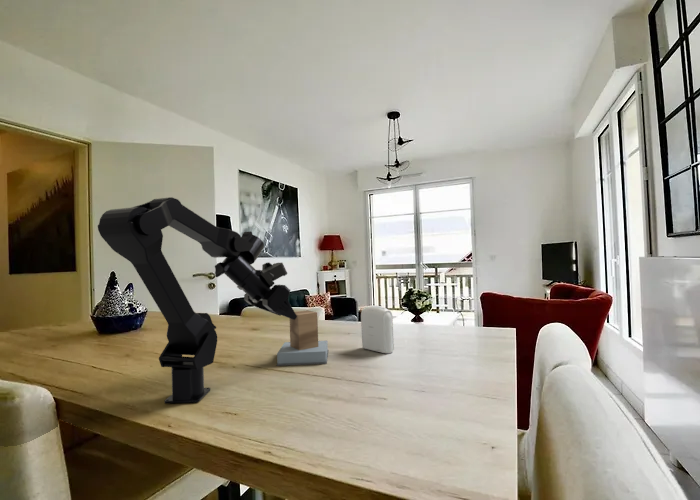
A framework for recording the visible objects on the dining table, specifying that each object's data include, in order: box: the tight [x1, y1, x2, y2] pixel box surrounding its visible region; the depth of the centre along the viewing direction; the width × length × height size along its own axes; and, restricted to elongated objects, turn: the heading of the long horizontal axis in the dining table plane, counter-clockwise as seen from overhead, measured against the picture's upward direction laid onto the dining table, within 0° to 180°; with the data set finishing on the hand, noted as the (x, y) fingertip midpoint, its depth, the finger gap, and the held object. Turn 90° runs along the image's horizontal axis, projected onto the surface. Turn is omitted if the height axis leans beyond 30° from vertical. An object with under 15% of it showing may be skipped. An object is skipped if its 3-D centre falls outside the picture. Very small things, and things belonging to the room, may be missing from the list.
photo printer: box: [360, 305, 395, 354], centre depth 102 cm, size 10×4×12 cm, turn 39°
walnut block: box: [289, 310, 319, 350], centre depth 97 cm, size 6×6×9 cm
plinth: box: [276, 340, 329, 367], centre depth 97 cm, size 12×12×3 cm
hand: (288, 316), depth 94 cm, fingers open, 9 cm apart
